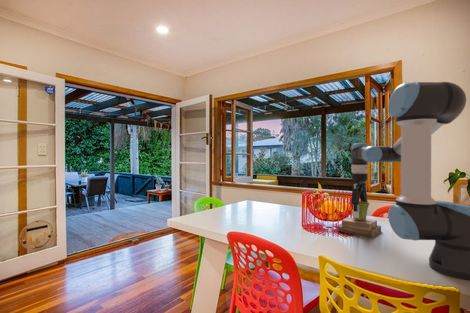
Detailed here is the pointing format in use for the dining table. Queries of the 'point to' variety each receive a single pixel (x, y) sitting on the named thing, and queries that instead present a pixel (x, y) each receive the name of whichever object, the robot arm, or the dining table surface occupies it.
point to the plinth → (360, 232)
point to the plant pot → (362, 210)
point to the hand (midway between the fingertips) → (359, 215)
